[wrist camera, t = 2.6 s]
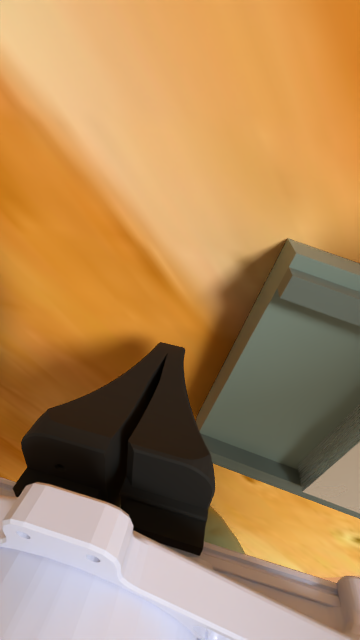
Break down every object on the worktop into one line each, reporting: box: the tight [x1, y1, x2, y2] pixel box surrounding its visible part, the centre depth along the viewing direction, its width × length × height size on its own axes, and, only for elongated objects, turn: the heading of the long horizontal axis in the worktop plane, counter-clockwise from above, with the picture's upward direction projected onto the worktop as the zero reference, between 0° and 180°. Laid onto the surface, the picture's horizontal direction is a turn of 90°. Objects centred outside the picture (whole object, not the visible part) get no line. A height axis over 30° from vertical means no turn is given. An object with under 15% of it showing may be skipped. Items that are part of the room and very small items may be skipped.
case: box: [196, 239, 360, 519], centre depth 15 cm, size 14×14×4 cm
